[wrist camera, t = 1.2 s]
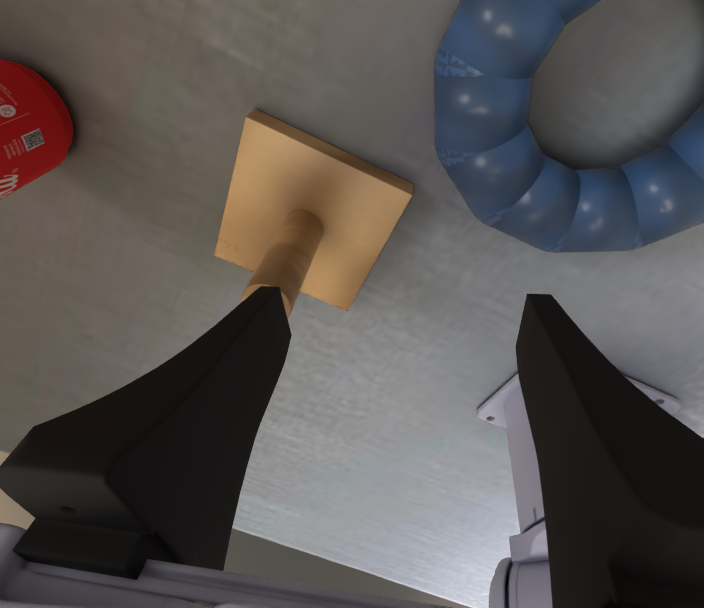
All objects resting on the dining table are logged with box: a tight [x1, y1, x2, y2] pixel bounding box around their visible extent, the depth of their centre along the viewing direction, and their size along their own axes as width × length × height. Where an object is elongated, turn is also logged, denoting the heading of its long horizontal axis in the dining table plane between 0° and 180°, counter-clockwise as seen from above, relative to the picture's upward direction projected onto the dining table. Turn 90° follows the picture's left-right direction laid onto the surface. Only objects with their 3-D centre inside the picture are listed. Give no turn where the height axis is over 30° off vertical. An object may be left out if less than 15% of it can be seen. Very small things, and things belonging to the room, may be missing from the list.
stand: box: [215, 109, 414, 318], centre depth 19 cm, size 8×8×7 cm
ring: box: [434, 0, 704, 253], centre depth 15 cm, size 13×13×3 cm
